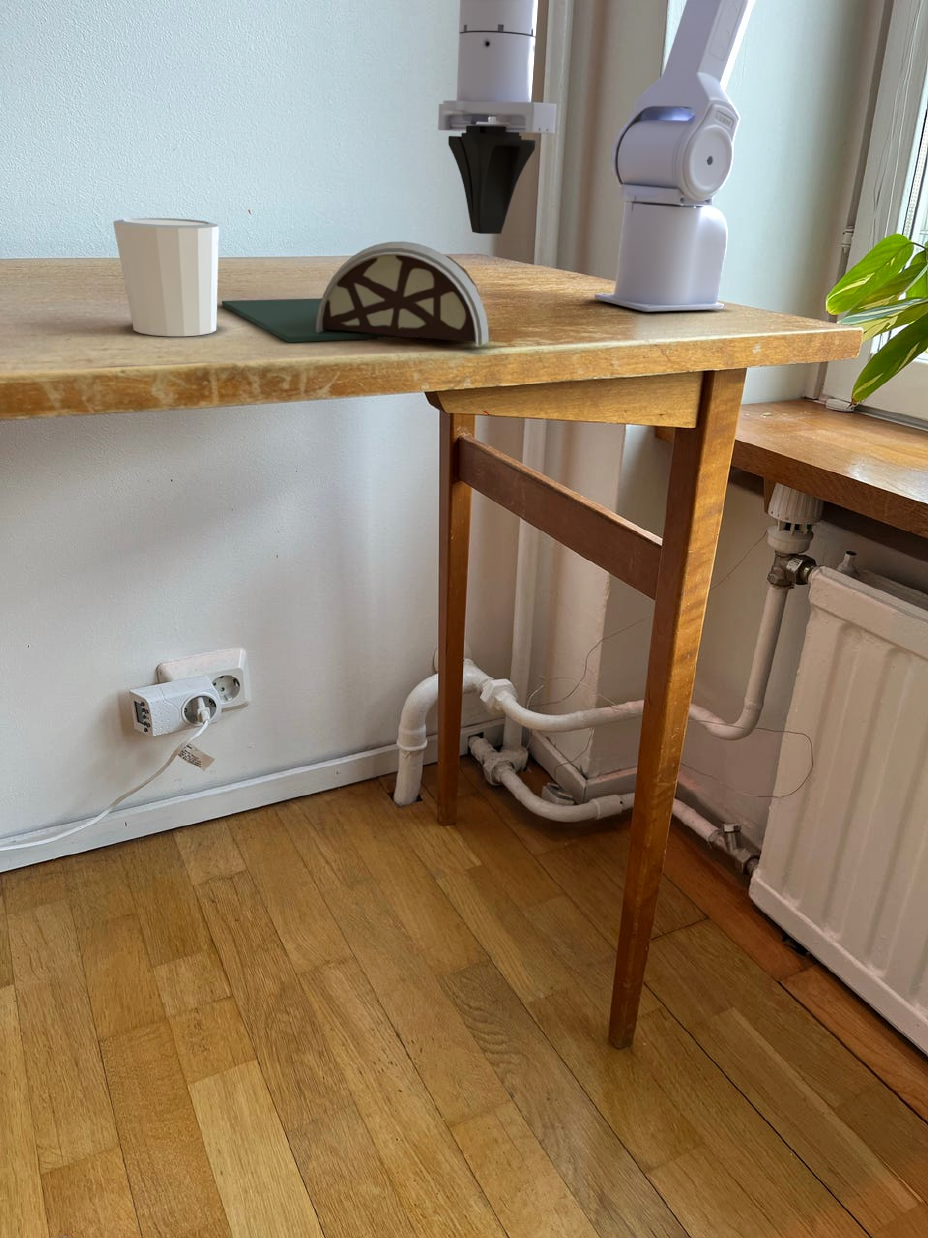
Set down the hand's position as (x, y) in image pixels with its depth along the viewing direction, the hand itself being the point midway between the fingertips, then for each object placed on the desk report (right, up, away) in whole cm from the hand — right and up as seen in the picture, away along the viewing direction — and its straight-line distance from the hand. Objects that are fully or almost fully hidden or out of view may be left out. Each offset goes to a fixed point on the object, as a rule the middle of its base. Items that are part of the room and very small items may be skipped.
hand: (486, 233), depth 76 cm
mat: (-12, -8, -3) cm, 15 cm away
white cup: (-22, -11, -10) cm, 27 cm away
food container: (-5, -5, -4) cm, 8 cm away
